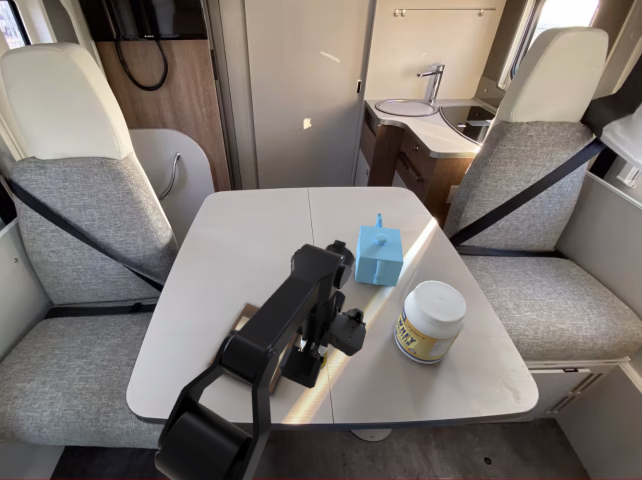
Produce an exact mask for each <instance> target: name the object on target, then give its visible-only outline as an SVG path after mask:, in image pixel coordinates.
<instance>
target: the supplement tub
mask: <svg viewBox="0 0 642 480" xmlns="http://www.w3.org/2000/svg"><path fill="white" fill-rule="evenodd" d="M467 309H468V308H467V302H466V301H465V299H464V296H463V295H462V294H461V293H460V292H459V291H458V290H457V289H455V288H454V287H453V286H451V285H449V284H447V283H445V282H442V281H439V280H426V281H422V282H420V283H419V284H417V285H416V287H415V288H414V289H413V290H412V291H410V293H409V294H408V295H407V296H406V297H405V300H404V304H403V306H402V308H401V311H400V313H399V316H398V319H397V321H396V323H395V326H394V339H395V342H396V344H397V346H398V348H399V349H400V351H401V352H402V353H403V354H404V355H405V356H407V357H408V358H409V359H411V360H413V361H415V362H417V363H421V364H427V365H429V364H435V363H438V362H440V361H441V360H443V358H445V357H446V355H447V353H448V352H449V351H450V350H451V347H452V346H453V345H454V342H455V341H456V340H457V338H458V337H459V335H460V333H461V332H462V331H463V329H464V326H465V322H466V317H465V316H466V313H467Z"/></svg>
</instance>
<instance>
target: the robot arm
mask: <svg viewBox="0 0 642 480" xmlns="http://www.w3.org/2000/svg"><path fill="white" fill-rule="evenodd" d="M355 262H356V257H355V256H354V254H353V252H352V251H351V250H350V248H348V247H347V242H345V241H342V240H339V239H335V240H334V242H333V243H329V244H327V246H325V248H321V247H319V246H316V245H313V244H311V243H305V244H303V245H302V246H301V247H300V248H298V249H297V250H296V251H294V253H293V255H292V256H291V257H290V274H289V275H288V277H287V278H286V279H285V280H283V282H282V283H281V284H280V285H279V286H278V288H276V289H275V291H274V292H273V293H272V294H271V295H270V296H269V297H268V298H267V300H265V301H264V302H263V304H262V305H261V306H260V307H258V308H259V309H258V310H257V311H256V313H255V314H254V315H253V316H252V317H251V318H250V319H249V320H248V321H247V322H246V323H245V324H244V326H243V327H242V328H241V329H240V330H239V331H238V330H236V329H235V330H232V331H231V332H230V331H229V332H230V333H229V332H228V333H229V334H228V333H227V335H226V336H225V337H224V339H223V341H222V342H221V344H220V346H219V347H218V349H219V350H218V349H217V351H218V352H217V351H216V352H217V355H216V357H215V359H214V361H213V363H212V365H211V366H210V365H209V366H208V367H207V368H205V369H204V370H203V371H201V372H200V373H199V374H198V375H197V376H196V377H194V378H193V379H192V380H190V382H188V383H187V384H186V385H184V386H183V388H181V390H180V392H179V393H178V396H177V398H176V401H175V403H174V404H173V407H172V409H171V411H170V413H169V415H168V417H167V420H166V422H165V423H164V426H163V428H162V430H161V432H160V435H159V437H158V440H157V448H158V450H157V451H156V452H155V454H154V465H155V468H156V470H158V471H159V472H160V473H162V474H163V475H165V477H167V478H168V479H170V480H253V478H254V476H255V473H256V470H257V468H258V465H259V462H260V460H261V457H262V454H263V452H264V449H265V447H266V444H267V442H268V438H269V436H270V433H271V431H272V414H271V413H272V412H271V397H270V393H269V385H270V382H271V380H272V377H273V375H274V372H275V370H276V367H277V364H278V362H279V357H280V355H281V353H282V352H283V350H284V349H285V347H286V346H287V344H288V343H289V342H290V340H291V339H292V337H293V336H294V334H295V333H297V334H298V335H300V336H301V337H300V341H301V340H302V341H306V340H307V342H306V344H305V346H303V348H301V346H298V345H295V344H294V345H293V346H292V348H288V349H287V351H286V353H285V355H284V357H283V359H282V362H281V364H280V366H279V369H280V376H281V377H283V378H285V379H287V380H289V381H291V382H293V383H296V384H299V385H300V386H303V387H305V388H307V389H313V388H315V386H316V384H317V381H318V378H319V377H320V376H319V375H320V373H321V371H322V370H321V367H322V364H323V361H324V358H325V357H322V356H320V355H321V354H320V352H319V351H318V350H319V347H320V345H321V346H323V347H326V348H328V349H329V347H328V345H329V346H330V345H331V346H332V347H333V348H334V349H336V350H338V351H340V352H341V353H343V354H344V355H345V356H347V357H353V356H354V355H356V354H357V353H359V352H360V351H361V350H362V349H363V346H364V342H365V339H366V335H367V329H366V327H367V322H364V316H365V312H364V311H363V310H362V309H360V308H358V307H355V308H351V309H348V310H347V311H343V308H344V306H345V302H346V298H347V296H346V295H345V294H344V293H343V291H340V290H341V289H342V288H343V287H344V286H345V285H346V284H347V283H348V281H349V279H350V277H351V275H352V272H353V269H352V268H353V265H354V264H355ZM313 343H315V344H314V346H313ZM312 346H313V348H312ZM311 348H312V349H311ZM225 372H228V373H230V374H231V375H233V376H235V377H237V378H239V379H240V380H239V379H238V380H239V381H241V380H242V382H244V383H245V384H247V385H249V386H251V392H250V393H251V410H252V412H251V413H252V415H251V416H252V431H253V433H252V434H253V435H252V434H250V433H248V432H246V431H245V430H243V429H242V428H240V427H239V426H237V425H236V424H234V423H232V421H229V420H227V419H226V418H224V417H223V416H221V415H220V414H218V413H217V412H215V411H213V410H212V409H210V408H208V407H207V406H205V405H204V404H202V403H201V402H200V399H201V397H202V396H203V393H204V391H205V389H207V388H208V387H209V386H211V385H212V384H213V383H214V382H215V381H216V380H218V379H219V378H220V377H221V376H223V375H224V374H226V373H225ZM231 375H230V376H231ZM233 376H232V377H233ZM235 377H234V378H235ZM237 378H236V379H237Z"/></svg>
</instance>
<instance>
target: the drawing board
mask: <svg viewBox="0 0 642 480" xmlns="http://www.w3.org/2000/svg"><path fill="white" fill-rule="evenodd" d="M259 308H260V307H258V306H256V305H252V304H250V303H246V305H244V307H243V309H242V310H241V312H240V314H239V316H238V317H237V319H236V320H235V322H234V324H233V325H232V327H231V328H230V330H229V331H228V333H227V335H228V334H229V333H230V332H231V331H232V330H235V329H236V330H238V331H239V330H240V329H241V328H242V327H243V326H244V324H245V323H246V322H247V321H248V320H249V319H250V318H251V317H252V316H253V315H254V314H255V313H256V311H257V310H258V309H259ZM298 335H299V334H297V333H295V334H294V336H293V337H292V339H291V340H290V342H289V343H288V344H287V346H286V347H285V349H284V350H283V352H282V353H281V355H280V357H279V362H278V364H277V367H276V370H275V372H274V375H273V377H272V380H271V382H270V385H269V395H273V392H274V390H275V388H276V386H277V383H278V381H279V379H280V376H281V374H280V369H279V366H280V364H281V362H282V359H283V357H284V355H285V353H286V351H287V349H288V348H292V346H293V345H295V342H296V340H297V337H298ZM218 350H219V348H218V349H217V350H216V352H215V354H214V355H213V357H212V359H211V360H210V361H209V364H208V365H209V366H211V365H212V363H213V361H214V359H215V357H216V355H217V352H218ZM224 374H226V375H228V376H231V377H232V378H235V379H237V380H239V381H242V380H240V379H239V378H237V377H235V376H233V375H231V374H230V373H228V372H225V373H224ZM242 382H243V381H242Z"/></svg>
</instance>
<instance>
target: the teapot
mask: <svg viewBox="0 0 642 480" xmlns="http://www.w3.org/2000/svg"><path fill="white" fill-rule="evenodd" d="M400 230H401V229H400V228H391V227H383V215H382V213H380V212H379V213H377V215H376V221H375V224H374V226H372V225H363V224H360V226H359V232H358V237H357V243H356V252H355V253H356V254H355V276H354V279H355V280H354V282H356V283H357V282H358V283H364V284H372V285H374V286H375V285H376V286H377V285H379V286H386V287H394V288H397V284H398V281H399V278H400V275H401V272H402V269H403V266H404V263H405V262H404V256H403V255H404V254H403V246H402V245H403V244H402V237H401V231H400Z"/></svg>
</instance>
